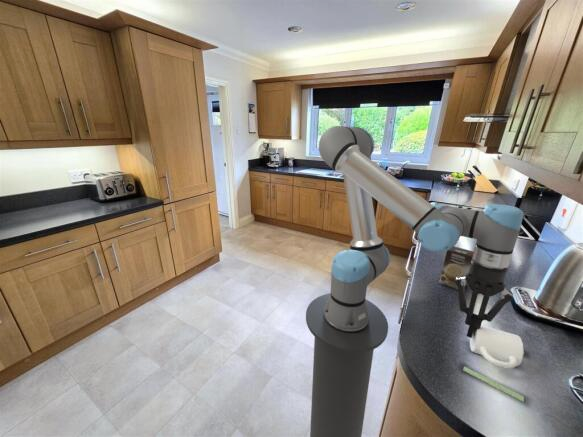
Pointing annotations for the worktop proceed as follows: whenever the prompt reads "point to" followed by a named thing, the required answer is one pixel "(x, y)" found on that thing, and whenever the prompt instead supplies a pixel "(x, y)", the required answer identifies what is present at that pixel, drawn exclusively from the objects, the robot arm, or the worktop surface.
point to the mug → (497, 346)
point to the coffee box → (455, 265)
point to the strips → (494, 383)
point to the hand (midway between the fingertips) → (469, 334)
